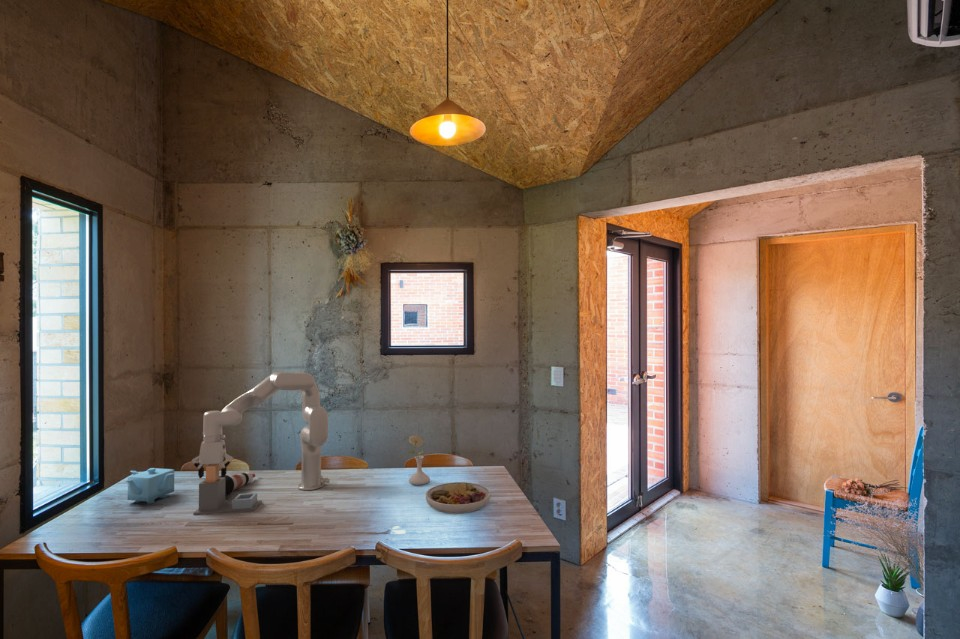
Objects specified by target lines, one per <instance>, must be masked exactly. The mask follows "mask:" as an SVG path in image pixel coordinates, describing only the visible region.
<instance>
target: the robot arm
mask: <svg viewBox="0 0 960 639" xmlns="http://www.w3.org/2000/svg"><path fill="white" fill-rule="evenodd" d="M280 390H281V391H300V394H301V399H302V401H301V402H302V406H301V407H302V412H301V413H302V419H303V420H304V422H306V423H308V424H307V425H304V427H302V430H301V431H300V436H299V437H300V438H299V440H300V447H301V448H300V449H301V477H300V478H301V482H300V483H299V484H298V487H297V488H298V489H299V490H301V491H312V490H317V489H321V488H322V487H324V486H325V483H328V484H329V483H330V480H331V479H330V478H329V477H323V475H322V447H323V446H324V445H325V444H326V442H327V441H328V437H329V416H328V412H327V410H326V409H325V408H324V406H321V398H320V396H321V395H320V390H319V386H318V385H317V383H316V379H315V377H314V375H312V374H310V373H309V372H308V373H307V372H303V371H297V372H295V373H294V372H283V371H274V372H272V373H271V374H269V375H268V376H266V377H265V378H264V379H263V380H262V381H260V382H259V383H258V384H257V385H255V386H254V387H253V388H251V389H250V390H248V391H247V392H245V393H243V394H241V395H239V396H238V397H237V398H235V399H234V400H233V401H231V402H230V403H229V404H227V405H225V407H224V408H223V409H221V411H220V410H208V411H206V412H204V414H203V421H202V422H203V429H202V437H203V438H202V441H201V444H200V448H199V455H198V456H196V457H194V458H192V459H191V462H192V463H193V465H194V466H195V468H196V469H197V471H198V472H197V475H198V478H199V479H202V478H203V477H204V476H205V467H204V466H205V465H206V466H208V465H209V464H219V466H221V469H220V476H221V477H224V476H225V475H227V468H228V466H229V465H230V464H231V463H232V461H233V459H234V457H233V456H231V455H230V454H228V453H227V449H226V442H225V441H226V440H224V439H226V435H224V434H223V427H235V426H237V425H239V424H241V422H242V421H243V413H244V412H245V411H247V410H249V409H250V408H252V407H255V406H258V405H262V404H264V403H265V402H266V401H268V400H269V399H270V398H271V397H273V395H275V394H276V393H277V392H278V391H280ZM198 460H199V461H198ZM226 460H227V462H226Z"/></svg>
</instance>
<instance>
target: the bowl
mask: <svg viewBox="0 0 960 639" xmlns="http://www.w3.org/2000/svg"><path fill="white" fill-rule="evenodd" d="M425 499H426V503H427V504H428V506H430V508H432V509H433V510H435V511H438V512H442V513H445V514H456V515H458V514H467V513H473V512H476V511H478V510H480V509H482V508H483V507H485V506H486V505H488V502H489V501H490V499H491V491H490V490H489V488H487V487H486V486H484V485H481V484H479V483H473V482H467V481H466V482H465V481H456V482H445V483H442V484H437V485H434V486H432V487H430V488H428V490H427V491H426V493H425Z"/></svg>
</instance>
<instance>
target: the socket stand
mask: <svg viewBox="0 0 960 639" xmlns="http://www.w3.org/2000/svg"><path fill="white" fill-rule="evenodd" d="M262 502H263V500H262V499H260V500H259V499H258V492H253V493H251V492H249V493H238V494H237V495H236V496H235V498H233V499H232V501H227V502H226V496H225V477H222V478H219V480H218V481H217V482H210V483H206V478H205V479H204V480H202V481H201V482H200V483H198V508H197V509H196V510H195V511H194V512H193V513H192V514H193V516H201V515H202V516H203V515H217V514H232V513H233V514H235V513H247V512H248V513H249V512H255V511H256V510H257V508H259V507H260V505H261V504H262Z"/></svg>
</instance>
